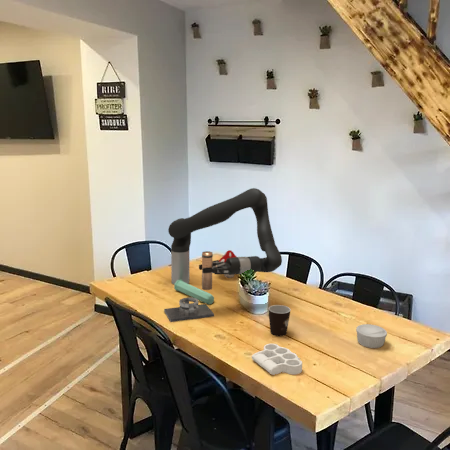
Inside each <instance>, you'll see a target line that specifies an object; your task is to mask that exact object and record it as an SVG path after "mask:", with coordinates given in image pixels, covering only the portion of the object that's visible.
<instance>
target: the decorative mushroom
mask: <svg viewBox="0 0 450 450" xmlns="http://www.w3.org/2000/svg"><path fill="white" fill-rule="evenodd" d="M232 257H238V256H237V255H236V254H235V253H234V251H232V250H229V249H228V250H227V251H226V252H224V253H223V255H222V257H220V259H218V260H219V262H226V260H227V258H232ZM223 276H224V278H229V279H230V278H231V279H232V278H234V277H235V275H229V274H223Z"/></svg>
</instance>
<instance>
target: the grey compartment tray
mask: <svg viewBox="0 0 450 450" xmlns="http://www.w3.org/2000/svg"><path fill="white" fill-rule="evenodd" d="M251 360H252V361H254V362H255V363H257V365H259V366H260V367H261V368H263V369H264V370H266V371H267V373H269V374H270V375H273V376H276V375H278V374H282V373H285V374H288V375H300V374H301V373H302V372H303V361H302V360H301V358H300V357H298V354H296V353H295V352H292V351H291V349H289V348H287V347H282V346H280V345H278V343H267V344H265V345H264V346H263V350H259V351H257V352H255V353H253V354H251ZM281 372H282V373H281ZM275 374H276V375H275Z"/></svg>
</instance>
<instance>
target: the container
mask: <svg viewBox="0 0 450 450" xmlns="http://www.w3.org/2000/svg"><path fill="white" fill-rule="evenodd" d="M173 285H174V286H173V288H174V290H175V291H176V292H180V293H183V294H185V295H186V296H188V297H190V298H196V299H198V301H199V302H201V303H202V304H206V305H211V304H213V303H214V301H215V297H214V295H213V294H211V293H210V292H207V291H206V290H203V289H202V288H201V289H200V288H198V287H196V286H194V285H192V284H190V283H189V284H187V283H185V282H183V281H182V280H177V281H176V283H175V284H173Z"/></svg>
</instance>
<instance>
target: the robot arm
mask: <svg viewBox="0 0 450 450" xmlns="http://www.w3.org/2000/svg"><path fill="white" fill-rule="evenodd" d="M249 208H250V209H251V210H252V211H253V214H254V215H255V219H256V220H255V221H256V231H257V232H256V234H257V235H256V236H257V240H258V243H259V248H260V250H261V251H262V252H264V253H265V255H266V257H260V256H257V255H253V256H252V255H251V256H237V257H232V258H227V260H226V262H219V260H220V259H217V260H212V268H211V267H209V268H203V269H202V263H201V264H199V265H198V270H199V271H201V273H202V272H203V273H211V272H212V274H214V275H224V274H229V275H234V276H235V275H241V274H242V273H244V272H245V271H247V270H250V269H252V270H254V272H253V273H257V272H258V273H272V272H274V271H276V270H277V269H279V268H280V267H281V266H282V263H283V257H282V255H281V252H280V250H279V248H278V246H277V244H276V242H275V238H274V234H273V231H272V227H271V222H270V218H269V217H270V216H269V206H268V198H267V195H266V194H265V193H264V192H263V191H262V190H260V189H258V188H257V187H253V188H249V189H246V190H245V191H243V192H241V193H239V194H237V195H236V196H233V197H230V198H229V199H226V200H223V201H221V202H219V203H216V204H212V205H211V206H208V207H206V208H203V209H201V211H198V212H196V213H195V214H192V215H191V216H188V217H186V218H177V219H175V220H173V221H172V222H171V223H170V224H169V226H168V230H167V232H168V234H169V235H170V237H171V238H173V241H172V243H171V246H170V253H171V254H170V257H171V262H170V263H171V264H170V265H171V267H170V269H171V272H170V273H171V276H170V277H171V284H172V285H174V284H175V283H176V281H177V280H182V281H183V282H185V283H187V284H190V246H191V242H192V241H191V240H192V233H194V232H196V231H199V230H202V229H206V228H210V227H213V226H216V225H218V224H221V223H223V222H226V221H228V220H229V219H230V218H231V217H233V215H235V214H236V213H237V212H239V211H242V210H245V209H249ZM244 274H245V273H244ZM242 275H243V274H242Z"/></svg>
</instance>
